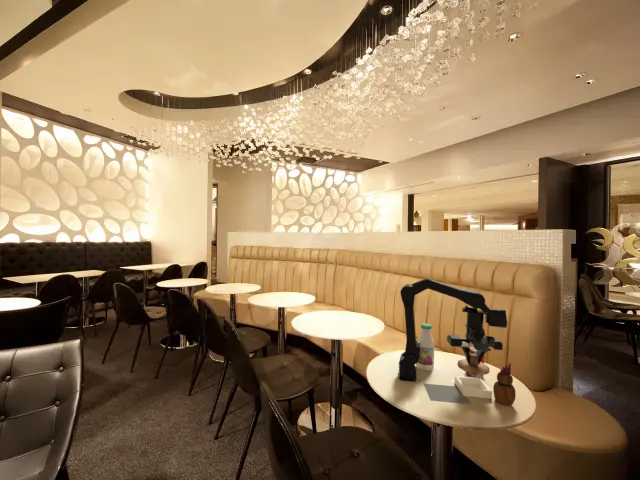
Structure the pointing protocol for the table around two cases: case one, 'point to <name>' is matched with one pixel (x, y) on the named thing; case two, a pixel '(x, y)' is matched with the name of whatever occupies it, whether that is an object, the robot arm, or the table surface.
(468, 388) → the white square tray
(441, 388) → the mat
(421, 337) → the milk bottle
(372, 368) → the table surface
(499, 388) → the wooden figurine
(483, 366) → the lid
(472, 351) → the soda can
